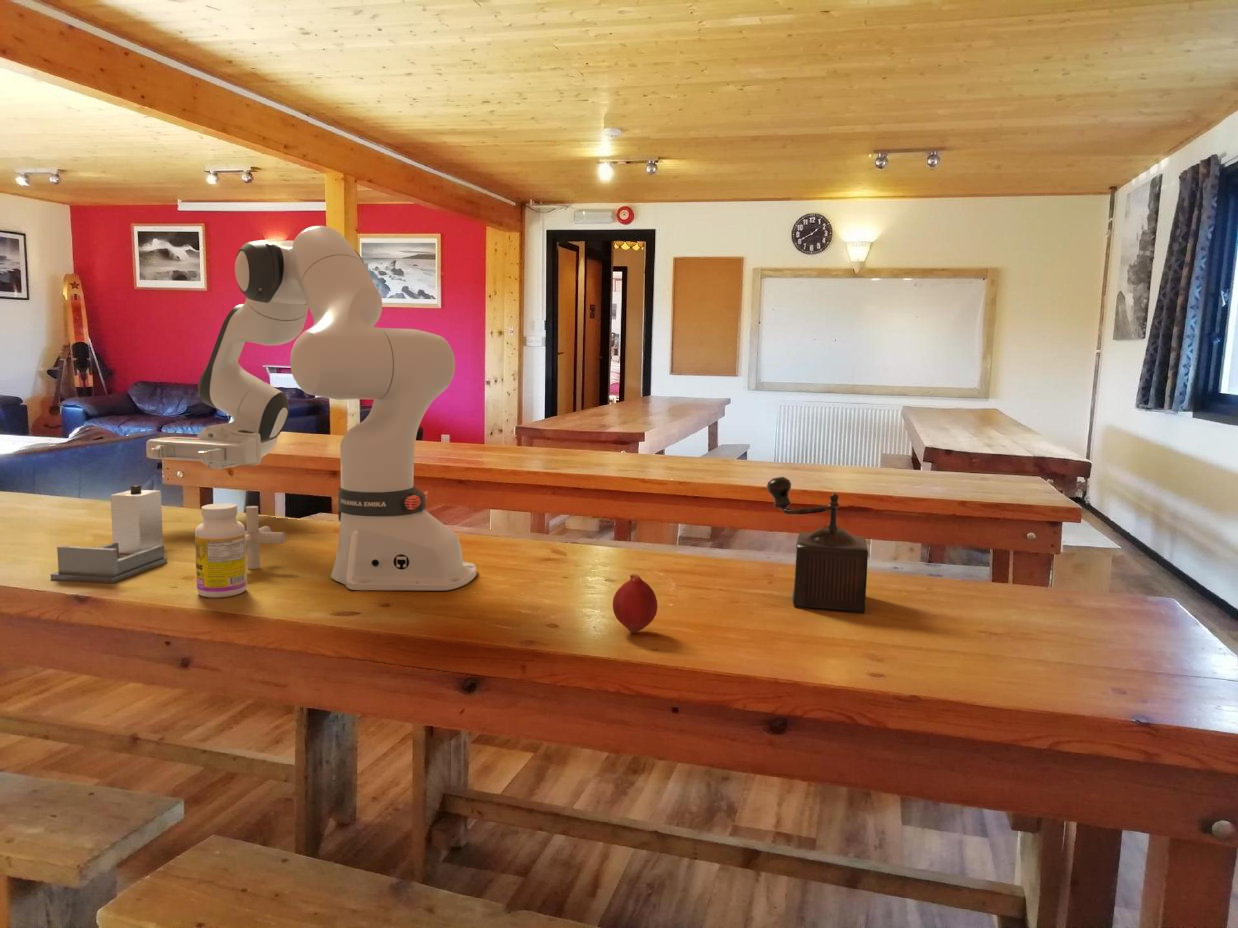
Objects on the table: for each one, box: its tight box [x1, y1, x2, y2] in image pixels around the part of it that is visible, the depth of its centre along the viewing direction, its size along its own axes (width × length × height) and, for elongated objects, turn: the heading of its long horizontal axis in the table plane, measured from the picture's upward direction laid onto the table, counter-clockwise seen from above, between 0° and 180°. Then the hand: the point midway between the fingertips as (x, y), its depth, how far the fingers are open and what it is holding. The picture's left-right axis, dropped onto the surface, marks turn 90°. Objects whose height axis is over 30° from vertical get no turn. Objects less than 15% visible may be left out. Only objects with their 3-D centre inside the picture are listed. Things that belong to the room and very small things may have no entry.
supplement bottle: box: [194, 502, 248, 599], centre depth 125 cm, size 7×7×13 cm
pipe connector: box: [245, 505, 287, 570], centre depth 140 cm, size 10×10×10 cm
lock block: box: [110, 484, 164, 555], centre depth 149 cm, size 5×6×11 cm
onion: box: [612, 573, 659, 634], centre depth 113 cm, size 6×6×8 cm
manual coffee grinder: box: [766, 476, 869, 614], centre depth 130 cm, size 16×11×18 cm
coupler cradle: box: [50, 542, 168, 584], centre depth 136 cm, size 10×13×5 cm
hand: (177, 455), depth 160 cm, fingers open, 8 cm apart
